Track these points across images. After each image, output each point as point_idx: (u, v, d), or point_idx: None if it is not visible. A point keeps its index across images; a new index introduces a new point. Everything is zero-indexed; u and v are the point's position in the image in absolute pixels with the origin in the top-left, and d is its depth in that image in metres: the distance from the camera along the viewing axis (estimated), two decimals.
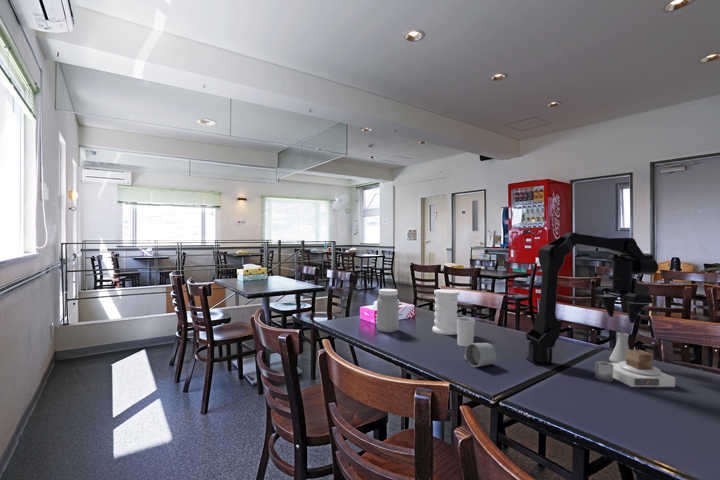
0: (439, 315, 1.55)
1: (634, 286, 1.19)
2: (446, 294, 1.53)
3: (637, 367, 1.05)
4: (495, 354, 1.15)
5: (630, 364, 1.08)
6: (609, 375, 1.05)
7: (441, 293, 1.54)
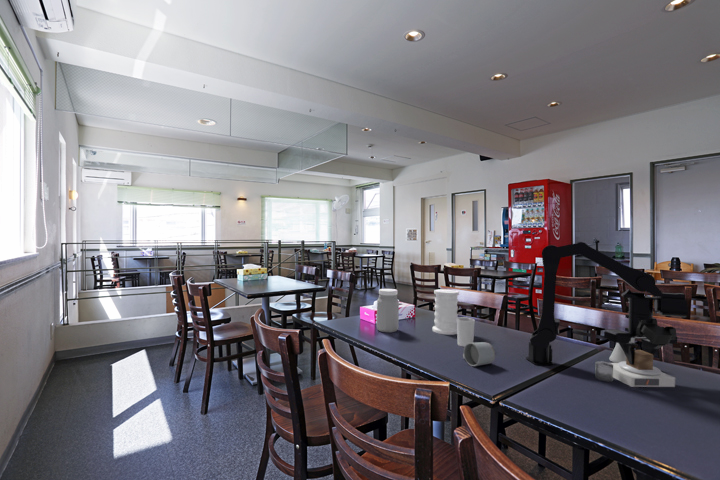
0: (439, 315, 1.55)
1: None
2: (446, 294, 1.53)
3: (637, 367, 1.05)
4: (493, 353, 1.15)
5: None
6: (609, 375, 1.05)
7: (441, 293, 1.54)
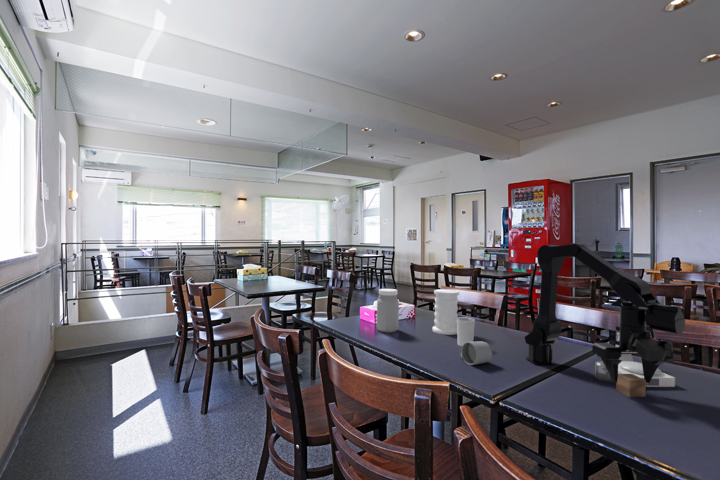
0: (439, 315, 1.55)
1: None
2: (446, 294, 1.53)
3: (628, 394, 0.95)
4: (491, 352, 1.16)
5: (620, 389, 0.98)
6: (609, 375, 1.05)
7: (441, 293, 1.54)
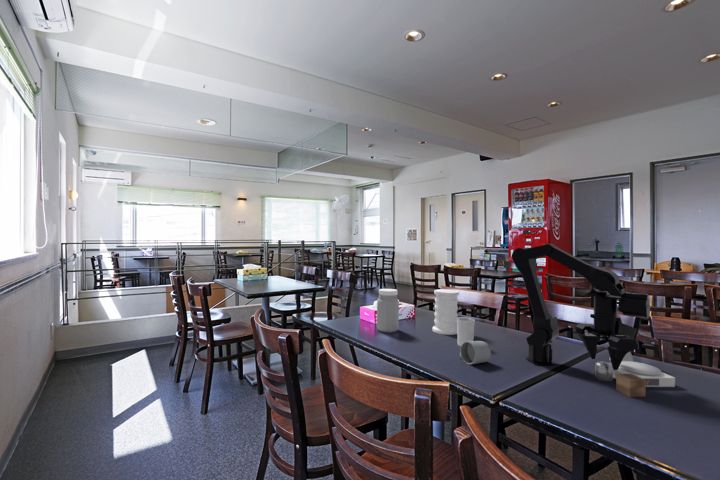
0: (439, 315, 1.55)
1: (618, 327, 1.04)
2: (446, 294, 1.53)
3: (628, 394, 0.95)
4: (489, 352, 1.17)
5: (620, 389, 0.98)
6: (609, 375, 1.05)
7: (441, 293, 1.54)
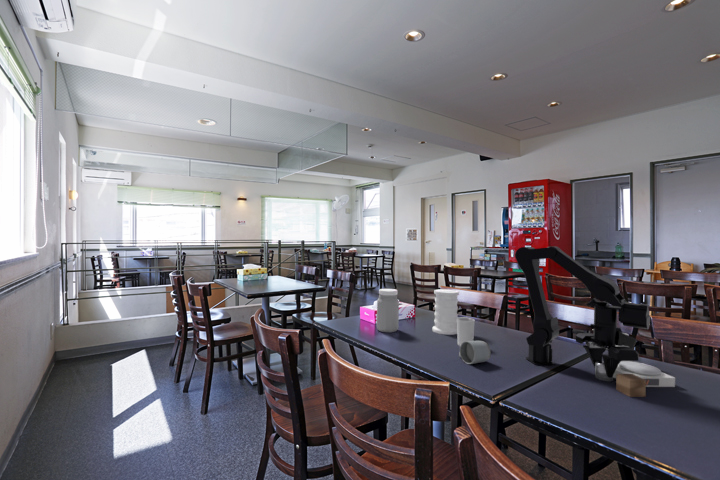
0: (439, 315, 1.55)
1: (618, 337, 1.04)
2: (446, 294, 1.53)
3: (628, 394, 0.95)
4: (489, 351, 1.17)
5: (620, 389, 0.98)
6: None
7: (441, 293, 1.54)
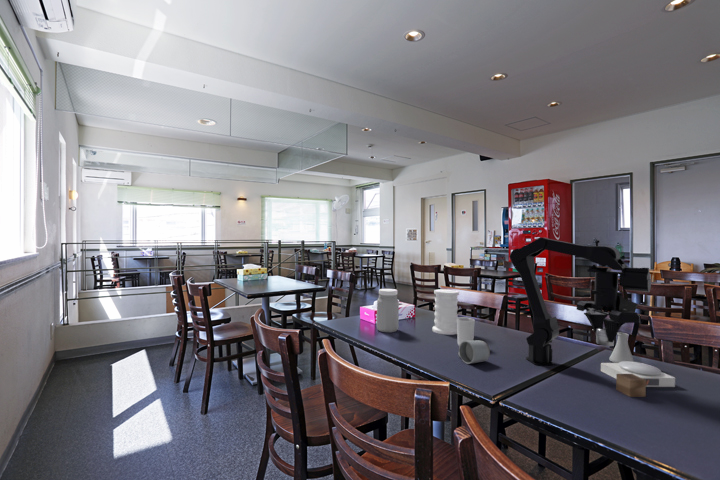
0: (439, 315, 1.55)
1: (619, 302, 1.04)
2: (446, 294, 1.53)
3: (628, 394, 0.95)
4: (488, 351, 1.17)
5: (620, 389, 0.97)
6: None
7: (441, 293, 1.54)
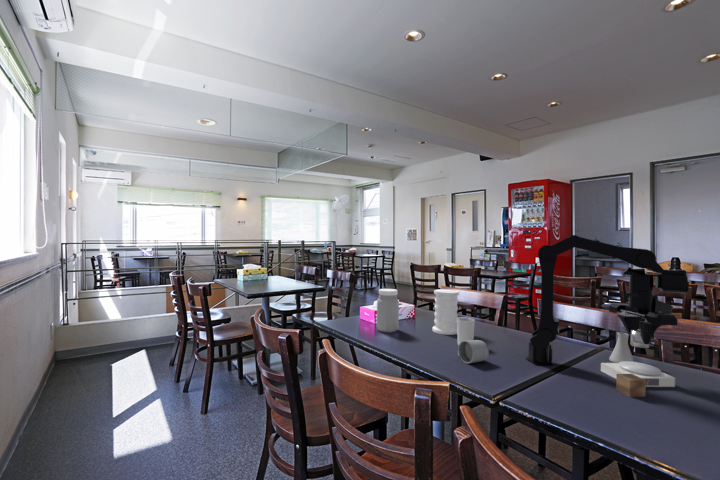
0: (439, 315, 1.55)
1: (655, 304, 1.05)
2: (446, 294, 1.53)
3: (628, 394, 0.95)
4: (487, 351, 1.18)
5: (620, 389, 0.97)
6: None
7: (441, 293, 1.54)
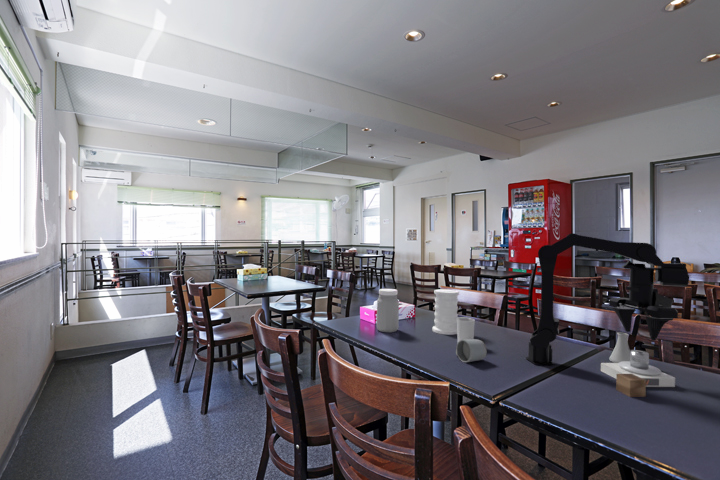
0: (439, 315, 1.55)
1: (655, 298, 1.05)
2: (446, 294, 1.53)
3: (628, 394, 0.95)
4: (485, 350, 1.19)
5: (620, 389, 0.97)
6: (645, 363, 1.05)
7: (441, 293, 1.54)
